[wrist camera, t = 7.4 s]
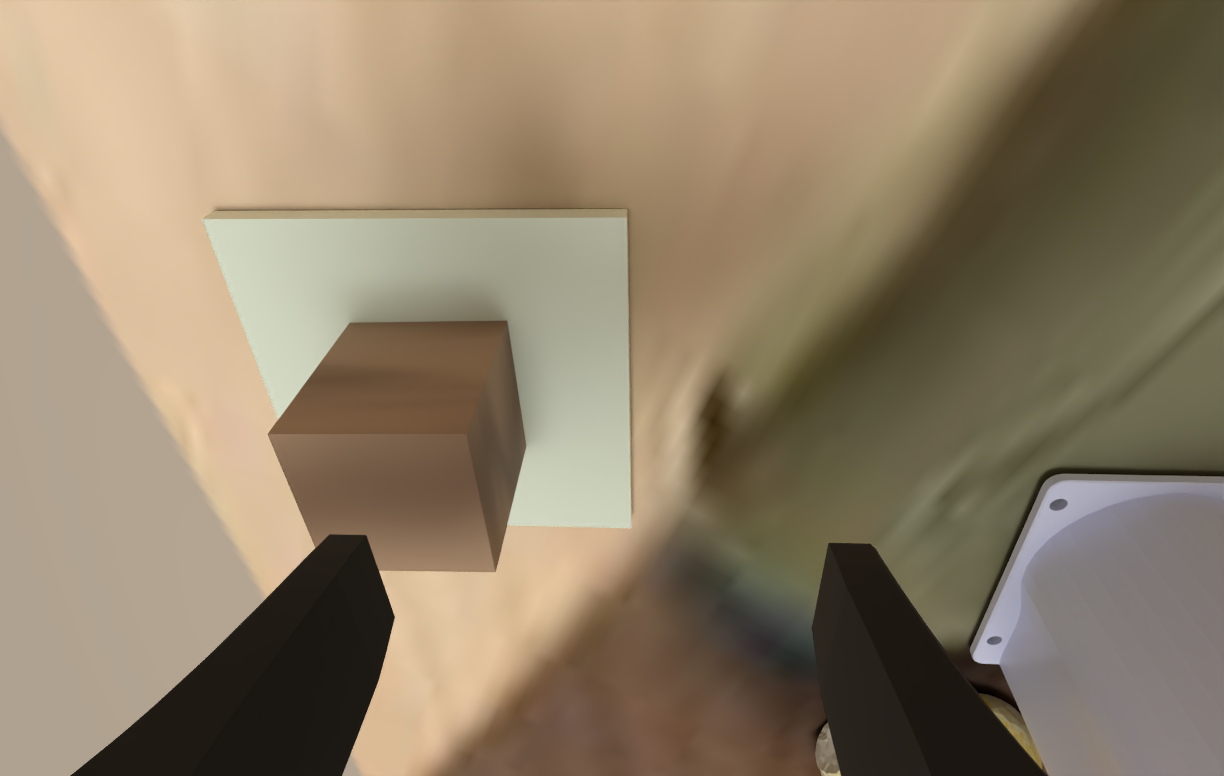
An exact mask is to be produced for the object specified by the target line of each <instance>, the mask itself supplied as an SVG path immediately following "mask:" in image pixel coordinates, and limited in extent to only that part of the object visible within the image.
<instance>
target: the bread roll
mask: <svg viewBox="0 0 1224 776" xmlns="http://www.w3.org/2000/svg"><path fill="white" fill-rule="evenodd" d="M978 694H979V695H980V696H981V697H982V699H983V700H984V701H985V702H986V704H987V705H988V706H989V707H990V709H991V710H992V711H993V712H994V714H995V715H996V716H997V717H998V718H999V720H1000V721H1001V722H1002V723H1003V724H1004V726H1005V727H1006V728H1007V729H1008V730H1009V732H1010V733H1011V734H1012V735H1013V736H1014V738H1015V739H1016V740H1017V741H1018V742H1019V744H1020V745H1021V746H1022V747H1023V748H1024V749H1025V751H1026V752H1027V753H1028V754H1029V755H1030V756H1031V757H1032V759H1033V760H1034V761H1035V762H1036V763H1037V764H1038V765H1039V767H1040V768H1041V769H1042V763H1041V757H1040V755H1039V753H1038V750H1037V748H1036V746H1035V744H1034V741H1033V739H1032V737H1031V735H1030V732H1029V730H1028V728H1027V726H1026V723H1025V721H1024V719H1023V717H1022V715H1021V714H1020V713H1019V712H1018V711H1017V710H1016V709H1015V708H1014V707H1012V706H1011V705H1010V704H1008V703H1006V702H1004V701H1003V700H1001V699H998V698H996V697H993V696H990V695H987V694H982V693H978ZM815 755H816V762H817V765H818V768H819V769H820V770H821V775H822V776H841V773H840V769H839V765H838V761H837V757H836V753H835V749H834V745H833V741H832V737H831V733H830V729H829V725H828V722H827V723H826V725H825V726H824V727H823V729H822V731H821V733H820V734H819V736H818V739H817V744H816V751H815Z"/></svg>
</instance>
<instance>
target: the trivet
mask: <svg viewBox="0 0 1224 776" xmlns="http://www.w3.org/2000/svg"><path fill="white" fill-rule="evenodd" d="M202 220H203V223H204V225H205V228H206V231H207V233H208V236H209V239H210V241H211V244H212V247H213V249H214V252H215V254H216V257H217V260H218V262H219V265H220V268H221V270H222V273H223V276H224V278H225V281H226V283H227V286H228V289H229V291H230V294H231V297H232V299H233V302H234V305H235V307H236V310H237V312H238V315H239V318H240V320H241V323H242V326H243V328H244V331H245V334H246V336H247V339H248V341H249V344H250V347H251V349H252V352H253V355H254V357H255V360H256V363H257V365H258V368H259V371H260V373H261V376H262V378H263V381H264V384H265V386H266V389H267V392H268V394H269V397H270V400H271V402H272V405H273V407H274V410H275V413H276V415H277V418H278V419H279V418H280V417H281V415H282V414H283V413H284V411H285V410H286V409H287V407H288V406H289V404H290V403H291V402H292V400H293V399H294V398H295V396H296V395H297V394H298V392H299V391H300V389H301V388H302V387H303V385H304V384H305V383H306V381H307V380H308V379H309V377H310V376H311V374H312V373H313V372H314V370H315V369H316V368H317V366H318V365H319V364H320V362H321V361H322V359H323V358H324V357H325V355H326V354H327V353H328V351H329V350H330V349H331V347H332V346H333V345H334V343H335V342H336V340H337V339H338V338H339V336H340V335H341V334H342V332H343V331H344V330H345V328H346V327H347V325H348V324H349V323H360V322H437V321H508V328H509V335H510V341H511V348H512V354H513V361H514V368H515V374H516V381H517V387H518V394H519V401H520V407H521V414H522V420H523V427H524V433H525V440H526V450H525V454H524V458H523V462H522V466H521V470H520V474H519V478H518V483H517V487H516V491H515V495H514V499H513V503H512V507H511V511H510V515H509V519H508V523H507V525H514V526H557V527H599V528H631V522H632V494H631V421H630V348H629V274H628V209H491V210H271V211H213V212H212V213H210V214H209V215H207V216H206V217H205V218H203V219H202Z"/></svg>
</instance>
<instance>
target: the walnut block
mask: <svg viewBox="0 0 1224 776" xmlns="http://www.w3.org/2000/svg"><path fill="white" fill-rule="evenodd" d="M268 436H269V439H270V441H271V443H272V446H273V448H274V451H275V453H276V455H277V458H278V460H279V462H280V465H281V467H282V470H283V472H284V474H285V477H286V479H287V481H288V484H289V486H290V488H291V491H292V493H293V496H294V498H295V500H296V503H297V505H298V507H299V510H300V512H301V515H302V517H303V519H304V522H305V524H306V526H307V529H308V531H309V534H310V536H311V538H312V541H313V543H314V545H315V548H316V547H317V546H318V545H319V544H320V543H321V542H322V541H323V540H324V539H325V538H326V537H327V536H328V535H329V534H341V535H367V538H368V541H369V544H370V547H371V550H372V553H373V555H374V558H375V561H376V564H377V567H378V570H381V571H453V572H496V568H497V564H498V560H499V556H500V552H501V548H502V544H503V540H504V536H505V532H506V527H507V523H508V519H509V515H510V511H511V507H512V503H513V499H514V495H515V491H516V487H517V483H518V478H519V474H520V470H521V466H522V462H523V458H524V454H525V450H526V440H525V433H524V427H523V420H522V414H521V407H520V401H519V394H518V387H517V381H516V374H515V368H514V361H513V354H512V348H511V341H510V335H509V328H508V321H437V322H360V323H349V324H348V325H347V327H346V328H345V330H344V331H343V332H342V334H341V335H340V336H339V338H338V339H337V340H336V342H335V343H334V345H333V346H332V347H331V349H330V350H329V351H328V353H327V354H326V355H325V357H324V358H323V359H322V361H321V362H320V364H319V365H318V366H317V368H316V369H315V370H314V372H313V373H312V374H311V376H310V377H309V379H308V380H307V381H306V383H305V384H304V385H303V387H302V388H301V389H300V391H299V392H298V394H297V395H296V396H295V398H294V399H293V400H292V402H291V403H290V404H289V406H288V407H287V409H286V410H285V411H284V413H283V414H282V415H281V417H280V418H279V419H278V421H277V422H276V424H275V425H274V426H273V428H272V429H271V430H270V432H269V433H268Z"/></svg>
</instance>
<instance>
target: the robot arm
mask: <svg viewBox="0 0 1224 776" xmlns="http://www.w3.org/2000/svg"><path fill="white" fill-rule="evenodd" d="M1057 499H1058V500H1057ZM1055 500H1056V501H1055ZM1053 501H1054V502H1053ZM394 618H395V616H394V613H393V610H392V608H391V605H390V602H389V599H388V596H387V593H386V590H385V587H384V584H383V582H382V579H381V576H380V573H379V570H378V567H377V564H376V561H375V558H374V555H373V553H372V550H371V547H370V544H369V541H368V538H367V535H341V534H329V535H328V536H327V537H326V538H325V539H324V540H323V541H322V542H321V543H320V544H319V545H318V546H317V547H316V548H315V549H314V550H313V551H312V552H311V553H310V554H309V555H308V556H307V557H306V558H305V559H304V560H303V561H302V562H301V563H300V564H299V565H298V566H297V568H296V569H295V570H294V571H293V572H292V573H291V574H290V575H289V576H288V577H287V578H286V579H285V580H284V581H283V582H282V583H281V584H280V585H279V586H278V587H277V588H276V589H275V590H274V591H273V592H272V593H271V594H270V595H269V596H268V597H267V598H266V599H265V600H264V601H263V602H262V603H261V604H260V605H259V607H258V608H256V610H255V611H253V612H252V613H251V615H249V616H248V617H247V618H246V619H245V620H244V621H243V622H242V623H241V625H239V626H238V627H237V628H236V629H235V630H234V631H233V632H232V633H231V634H230V635H229V636H228V637H227V638H226V639H225V640H224V641H223V642H222V643H221V644H220V645H219V646H218V647H217V648H216V649H215V650H214V651H213V652H212V653H211V654H210V655H209V656H208V657H207V658H206V659H205V660H203V661H202V662H201V663H200V665H198V666H197V667H196V668H195V669H194V670H193V671H192V672H191V673H189V675H187V676H186V677H185V678H184V679H183V680H182V681H181V682H180V683H179V684H177V685H176V686H175V687H174V688H173V689H172V690H171V691H170V692H169V693H168V694H167V695H166V696H165V697H163V698H162V699H161V700H160V701H159V702H158V703H157V704H156V705H155V706H154V707H152V708H151V709H150V710H149V711H148V712H147V713H146V714H144V715H143V716H142V717H141V718H140V719H139V720H137V721H136V722H135V723H134V724H133V725H132V726H131V727H129V728H128V729H127V730H126V731H125V732H123V733H122V734H121V735H120V736H119V737H118V738H116V739H115V740H114V741H113V742H112V743H110V744H109V745H108V746H107V747H105V748H104V749H103V750H102V751H100V752H99V753H98V754H97V755H96V756H94V757H93V758H92V759H91V760H89V761H88V762H87V763H86V764H84V765H83V766H82V767H81V768H79V769H78V770H77V771H76V772H74V773H73V774H72V775H71V776H342V774H343V772H344V769H345V766H346V764H347V761H348V759H349V756H350V754H351V751H352V749H353V746H354V743H355V741H356V738H357V736H358V733H359V731H360V728H361V725H362V723H363V720H364V718H365V715H366V712H367V710H368V707H369V704H370V702H371V699H372V697H373V694H374V691H375V689H376V686H377V683H378V680H379V677H380V673H381V670H382V666H383V662H384V658H385V655H386V651H387V647H388V643H389V639H390V635H391V630H392V626H393V622H394ZM812 632H813V640H814V648H815V655H816V663H817V670H818V677H819V684H820V691H821V696H822V701H823V705H824V709H825V713H826V717H827V721H828V725H829V729H830V733H831V737H832V741H833V745H834V749H835V753H836V757H837V761H838V765H839V769H840V773H841V776H1047V774H1046V773H1045V772H1044V771H1043V770H1042V769H1041V768H1040V767H1039V765H1038V764H1037V763H1036V762H1035V761H1034V760H1033V759H1032V757H1031V756H1030V755H1029V754H1028V753H1027V752H1026V751H1025V749H1024V748H1023V747H1022V746H1021V745H1020V744H1019V742H1018V741H1017V740H1016V739H1015V738H1014V736H1013V735H1012V734H1011V733H1010V732H1009V730H1008V729H1007V728H1006V727H1005V726H1004V724H1003V723H1002V722H1001V721H1000V720H999V718H998V717H997V716H996V715H995V714H994V712H993V711H992V710H991V709H990V707H989V706H988V705H987V704H986V702H985V701H984V700H983V699H982V697H981V696H980V695H979V694H978V692H977V691H976V690H975V689H974V687H973V686H972V685H971V684H970V682H969V681H968V680H967V678H966V677H965V676H964V674H963V673H962V672H961V670H960V669H959V668H958V666H957V665H956V664H955V662H954V661H953V660H952V659H951V657H950V656H949V655H948V653H947V652H946V651H945V649H944V648H943V647H942V645H941V644H940V643H939V641H938V640H937V639H936V637H935V636H934V634H933V633H932V632H931V630H930V629H929V628H928V626H927V625H926V623H925V622H924V620H923V619H922V618H921V616H920V615H919V613H918V612H917V610H916V609H915V608H914V606H913V605H912V603H911V602H910V600H909V599H908V598H907V596H906V595H905V593H904V592H903V590H902V589H901V587H900V586H899V584H898V583H897V581H896V580H895V578H894V577H893V575H892V574H891V572H890V571H889V569H888V567H887V566H886V564H885V563H884V561H883V560H882V558H881V557H880V555H879V553H878V552H877V550H876V549H875V548H874V547H873V546H872V545H871V544H853V543H829V544H828V549H827V554H826V559H825V564H824V569H823V574H822V579H821V584H820V589H819V595H818V600H817V605H816V610H815V615H814V620H813V625H812ZM970 653H971V655H972V658H973V659H974V661H976V662H978V663H983V664H1000V667H1001V669H1002V671H1003V674H1004V676H1005V678H1006V680H1007V683H1008V685H1009V687H1010V689H1011V692H1012V694H1013V696H1014V698H1015V701H1016V703H1017V705H1018V708H1019V710H1020V712H1021V714H1022V717H1023V719H1024V721H1025V723H1026V726H1027V728H1028V730H1029V732H1030V735H1031V737H1032V739H1033V741H1034V744H1035V746H1036V748H1037V750H1038V753H1039V755H1040V757H1041V759H1042V762H1043V764H1044V766H1045V769H1046V771H1047V773H1048V775H1049V776H1224V477H1218V476H1163V475H1108V474H1057V475H1054V476H1052V477H1050V478H1049V479H1047V480H1046V481H1045V482H1044V484H1043V485H1042V487H1041V490H1040V492H1039V494H1038V496H1037V499H1036V501H1035V503H1034V505H1033V508H1032V510H1031V512H1030V514H1029V517H1028V519H1027V521H1026V523H1025V526H1024V528H1023V530H1022V532H1021V535H1020V537H1019V539H1018V541H1017V544H1016V546H1015V548H1014V550H1013V553H1012V555H1011V557H1010V559H1009V562H1008V564H1007V566H1006V568H1005V571H1004V573H1003V575H1002V577H1001V580H1000V582H999V584H998V586H997V589H996V591H995V593H994V595H993V598H992V600H991V602H990V604H989V607H988V609H987V611H986V614H985V616H984V618H983V620H982V623H981V625H980V627H979V629H978V632H977V634H976V636H975V638H974V641H973V643H972V645H971V647H970Z"/></svg>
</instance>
